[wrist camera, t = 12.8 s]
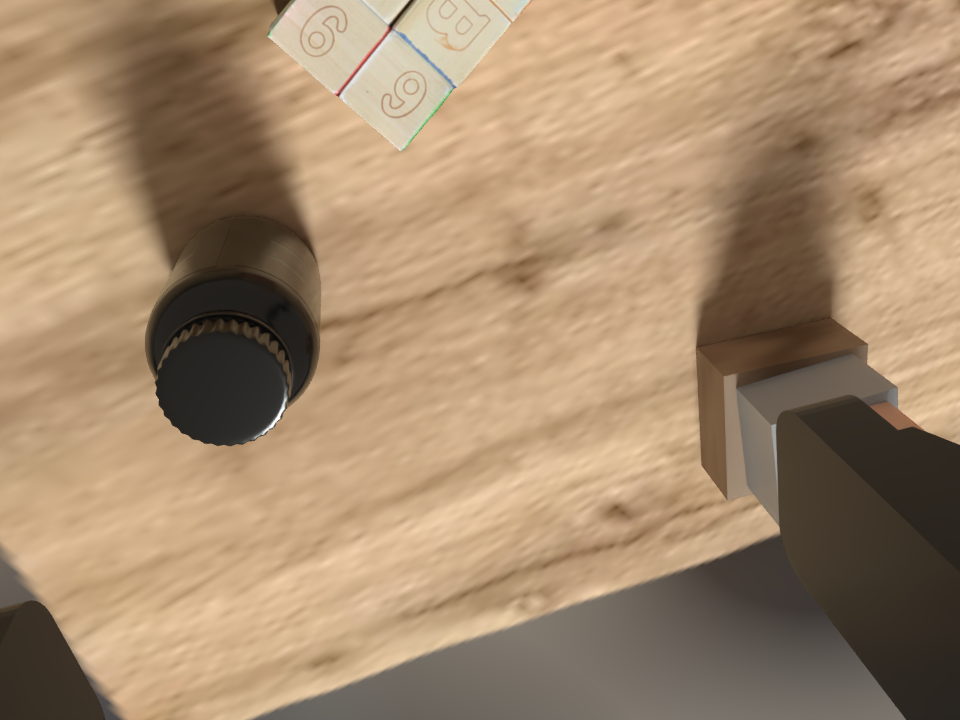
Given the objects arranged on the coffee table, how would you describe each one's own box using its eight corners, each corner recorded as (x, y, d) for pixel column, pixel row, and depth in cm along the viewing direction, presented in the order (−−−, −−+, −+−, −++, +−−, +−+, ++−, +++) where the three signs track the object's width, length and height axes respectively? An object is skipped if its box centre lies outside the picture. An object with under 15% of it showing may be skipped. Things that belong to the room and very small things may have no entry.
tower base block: (827, 315, 48) (868, 344, 44) (824, 434, 52) (860, 469, 48) (694, 345, 47) (723, 376, 44) (699, 462, 51) (727, 500, 47)
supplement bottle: (212, 361, 43) (173, 493, 32) (153, 238, 40) (88, 339, 29) (340, 319, 43) (344, 437, 32) (291, 193, 40) (277, 278, 29)
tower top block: (852, 353, 45) (897, 387, 41) (856, 453, 47) (899, 492, 44) (735, 387, 44) (771, 425, 41) (747, 485, 47) (781, 529, 44)
